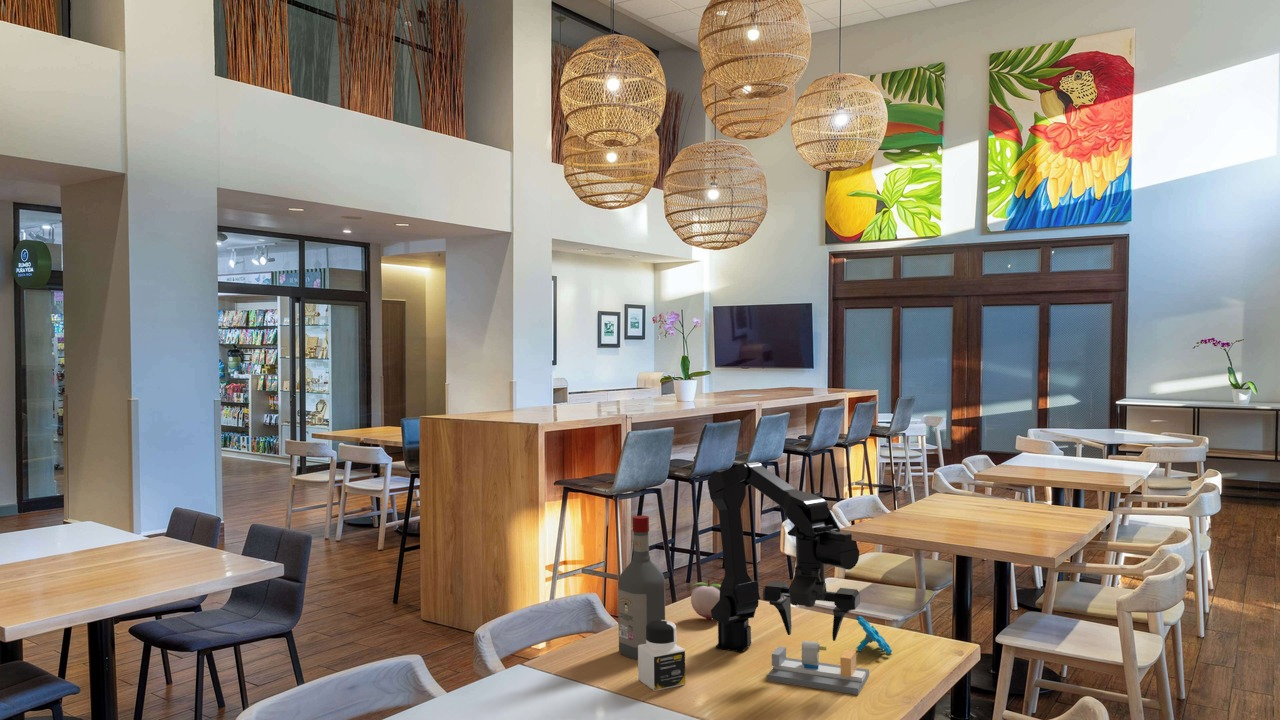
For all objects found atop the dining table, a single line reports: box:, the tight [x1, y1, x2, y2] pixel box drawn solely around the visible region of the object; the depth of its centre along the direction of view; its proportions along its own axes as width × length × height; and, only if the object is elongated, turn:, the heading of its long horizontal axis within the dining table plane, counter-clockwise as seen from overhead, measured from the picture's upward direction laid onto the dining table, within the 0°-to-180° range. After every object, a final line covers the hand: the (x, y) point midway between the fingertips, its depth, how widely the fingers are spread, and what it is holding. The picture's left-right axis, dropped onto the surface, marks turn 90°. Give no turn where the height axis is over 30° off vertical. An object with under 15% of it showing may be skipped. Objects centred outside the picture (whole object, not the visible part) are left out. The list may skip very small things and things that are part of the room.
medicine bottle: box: [637, 619, 686, 692], centre depth 168 cm, size 7×7×12 cm
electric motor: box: [801, 640, 827, 669], centre depth 170 cm, size 7×5×5 cm
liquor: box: [617, 515, 666, 661], centre depth 185 cm, size 9×9×30 cm
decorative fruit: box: [690, 579, 721, 620], centre depth 208 cm, size 9×8×10 cm
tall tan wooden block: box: [839, 649, 857, 677], centre depth 167 cm, size 2×5×4 cm, turn 154°
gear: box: [856, 615, 893, 654], centre depth 185 cm, size 11×6×10 cm
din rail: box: [766, 645, 870, 696], centre depth 169 cm, size 18×11×4 cm, turn 64°
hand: (811, 637), depth 170 cm, fingers open, 9 cm apart
